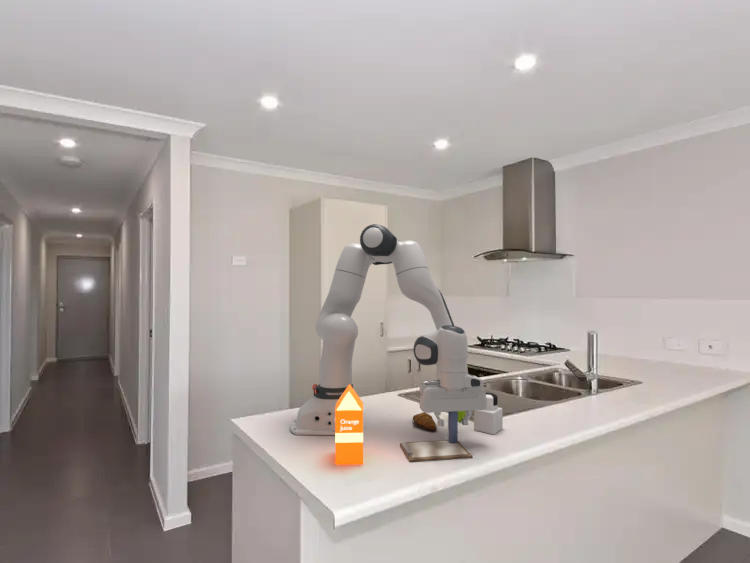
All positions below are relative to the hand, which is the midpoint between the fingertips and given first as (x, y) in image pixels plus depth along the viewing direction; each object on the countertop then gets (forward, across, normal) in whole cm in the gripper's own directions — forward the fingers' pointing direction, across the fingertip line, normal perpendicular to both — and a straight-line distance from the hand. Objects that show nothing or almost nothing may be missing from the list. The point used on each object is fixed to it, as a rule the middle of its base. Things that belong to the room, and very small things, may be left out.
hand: (453, 425), depth 132 cm
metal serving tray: (+6, -7, -4) cm, 10 cm away
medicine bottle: (+6, +16, +11) cm, 20 cm away
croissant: (+6, -4, +18) cm, 19 cm away
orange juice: (+6, -32, -5) cm, 33 cm away
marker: (+5, 0, 0) cm, 5 cm away
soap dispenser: (+6, +10, +23) cm, 26 cm away
